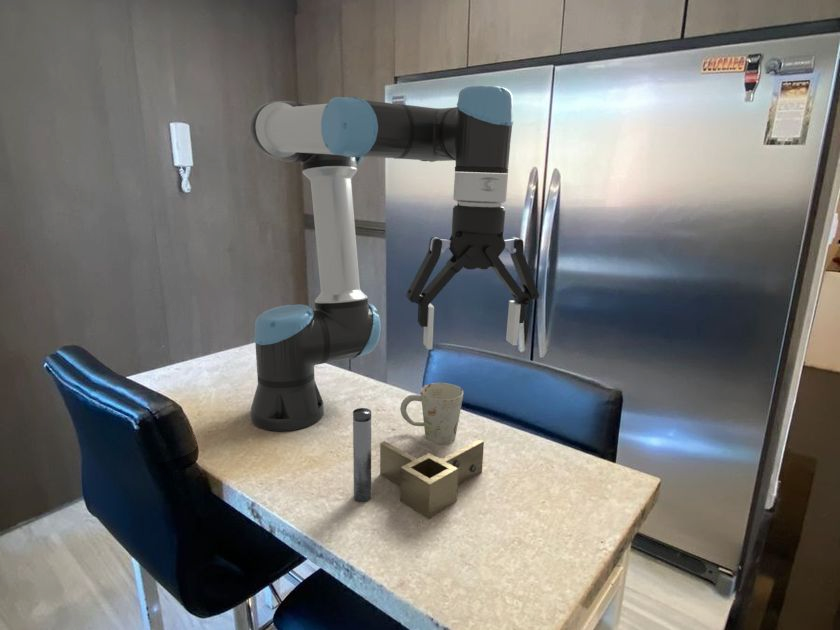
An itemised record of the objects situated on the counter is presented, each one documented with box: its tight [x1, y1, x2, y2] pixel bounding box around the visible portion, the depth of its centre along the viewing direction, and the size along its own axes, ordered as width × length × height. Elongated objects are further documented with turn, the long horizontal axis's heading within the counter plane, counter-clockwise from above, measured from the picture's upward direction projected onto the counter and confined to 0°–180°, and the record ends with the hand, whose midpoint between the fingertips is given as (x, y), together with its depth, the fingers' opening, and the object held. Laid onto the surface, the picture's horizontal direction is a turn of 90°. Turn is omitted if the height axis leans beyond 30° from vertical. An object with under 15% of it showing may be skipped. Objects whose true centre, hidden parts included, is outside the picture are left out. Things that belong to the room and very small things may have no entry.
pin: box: [352, 407, 372, 504], centre depth 82 cm, size 3×3×15 cm
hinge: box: [379, 439, 485, 520], centre depth 88 cm, size 14×16×6 cm
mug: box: [399, 382, 464, 445], centre depth 103 cm, size 8×13×10 cm, turn 78°
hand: (470, 344), depth 80 cm, fingers open, 13 cm apart
